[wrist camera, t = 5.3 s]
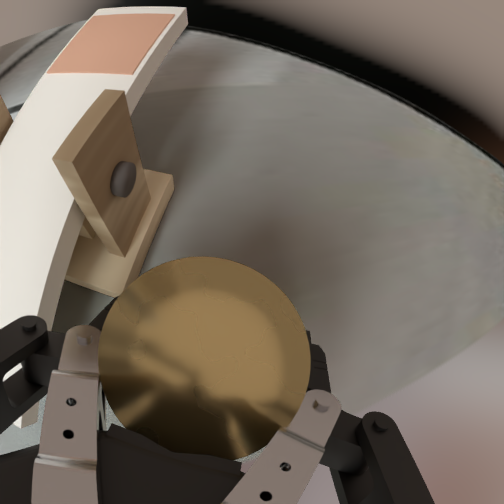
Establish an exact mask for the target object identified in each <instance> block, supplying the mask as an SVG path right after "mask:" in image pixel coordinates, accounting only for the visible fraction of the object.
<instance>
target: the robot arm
mask: <svg viewBox="0 0 504 504" xmlns="http://www.w3.org/2000/svg"><path fill="white" fill-rule="evenodd" d="M119 296H120V295H119ZM119 296H117V297H115V298H114V299H113V300H112V301H111V302H110V304H108V305H107V306H106V307H105V309H103V310H102V311H101V312H100V313H99V315H98V316H97V317H96V318H95V319H94V320H93V321H92V322H91V323H90V324H89V325H77V326H74V327H72V328H70V329H69V330H68V331H67V333H66V334H64V333H58V332H52V331H48V330H47V324H46V322H45V321H44V320H43V319H42V318H40V317H38V316H34V315H27V316H23V317H20V318H18V319H16V320H15V321H13V322H11V323H10V324H8V325H6V326H5V327H3V328H1V329H0V434H1V433H2V432H3V431H5V430H6V429H7V428H8V427H9V426H10V425H11V424H13V423H14V422H15V421H16V420H17V419H18V418H19V417H21V416H22V415H23V414H24V413H25V412H26V411H28V410H29V409H30V408H31V407H32V406H33V405H35V404H36V403H37V402H38V401H39V400H40V399H42V398H43V397H44V396H45V395H46V394H47V398H46V404H45V410H44V416H43V423H42V430H41V437H40V444H38V445H34V446H31V447H28V448H25V449H21V450H18V451H14V452H11V453H7V454H3V455H0V504H297V502H298V500H299V498H300V497H301V495H302V493H303V491H304V490H305V488H306V486H307V484H308V482H309V481H310V479H311V477H312V475H313V473H314V471H315V469H316V467H317V465H318V464H319V463H320V464H323V465H325V466H328V467H330V471H331V475H332V478H333V482H334V486H335V489H336V492H337V496H338V499H339V503H340V504H435V503H434V501H433V499H432V497H431V495H430V492H429V490H428V488H427V486H426V484H425V482H424V480H423V478H422V476H421V474H420V471H419V469H418V467H417V465H416V463H415V461H414V459H413V457H412V455H411V453H410V451H409V449H408V447H407V445H406V443H405V441H404V439H403V437H402V435H401V433H400V431H399V429H398V427H397V425H396V423H395V422H394V420H393V419H392V418H390V417H389V416H388V415H386V414H384V413H381V412H369V413H367V414H365V416H364V417H363V418H359V417H356V416H354V415H351V414H349V413H346V412H345V411H343V410H341V404H340V402H339V400H338V399H337V398H336V397H335V396H334V395H332V394H331V389H330V382H329V376H328V371H327V364H326V357H325V353H324V352H323V350H322V349H321V348H320V346H319V345H315V344H311V337H310V331H307V330H306V334H307V338H308V341H309V348H310V356H311V365H310V377H309V383H308V387H307V390H306V394H305V397H304V399H303V402H302V404H301V406H300V408H299V410H298V412H297V413H296V415H295V417H294V418H293V420H292V421H291V422H290V424H289V425H288V426H287V427H282V428H281V427H280V428H279V430H278V431H277V432H276V434H275V435H274V437H273V438H272V439H271V441H270V442H269V443H268V445H267V446H266V448H265V449H264V450H263V452H262V453H261V454H260V456H259V457H258V458H257V460H256V461H255V462H254V464H253V465H252V466H251V468H250V469H249V470H248V471H247V473H243V472H241V471H240V469H241V464H242V462H237V461H233V460H228V459H224V458H219V457H215V456H211V455H200V454H186V453H175V452H171V451H169V450H167V449H166V448H164V447H162V446H160V445H158V444H157V443H155V442H153V441H152V440H150V439H148V438H147V437H145V436H143V435H141V434H139V433H136V432H133V431H130V430H128V429H125V428H123V427H120V426H118V425H115V424H113V423H112V424H111V426H110V428H109V430H108V431H106V396H105V394H104V391H103V388H102V384H101V374H99V369H98V347H99V339H100V335H101V331H102V328H103V325H104V322H105V320H106V317H107V315H108V313H109V311H110V309H111V308H112V306H113V304H114V302H115V301H116V300H117V298H118V297H119ZM20 363H21V366H22V368H21V369H19V370H18V371H17V372H15V373H14V374H13V375H11V376H10V377H9V378H7V379H6V380H5V381H3V378H4V376H5V374H6V373H7V372H8V371H10V370H11V369H13V368H14V367H15V366H17V365H18V364H20Z"/></svg>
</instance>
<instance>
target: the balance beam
mask: <svg viewBox="0 0 504 504" xmlns="http://www.w3.org/2000/svg"><path fill="white" fill-rule="evenodd" d="M187 25H188V19H187V11H186V8H185V7H120V8H105V9H98V10H97V11H96V12H95V13H94V14H93V15H92V16H91V18H89V20H88V21H87V22H86V23H85V24H84V25H83V26H82V27H81V28H80V30H79V31H78V32H77V33H76V34H75V35H74V36H73V38H72V39H71V40H70V41H69V42H68V44H67V45H66V46H65V47H64V48H63V50H62V51H61V52H60V54H59V55H58V56H57V57H56V59H55V60H54V61H53V63H52V64H51V65H50V67H49V68H48V69H47V71H46V72H45V73H44V75H43V76H42V78H41V79H40V80H39V82H38V83H37V85H36V86H35V88H34V89H33V91H32V92H31V94H30V95H29V97H28V98H27V100H26V102H25V103H24V105H23V106H22V108H21V110H20V111H19V113H18V115H17V116H16V118H15V120H14V121H13V123H12V125H11V127H10V128H9V130H8V132H7V134H6V136H5V137H4V139H3V141H2V143H1V145H0V329H1V328H3V327H5V326H6V325H8V324H10V323H11V322H13V321H15V320H16V319H18V318H20V317H23V316H27V315H34V316H38V317H40V318H42V319H43V320H44V321H45V322H46V324H47V330H48V331H51V330H52V326H53V321H54V317H55V313H56V309H57V305H58V301H59V297H60V293H61V290H62V286H63V283H64V279H65V276H66V272H67V269H68V266H69V263H70V259H71V256H72V253H73V250H74V247H75V244H76V241H77V238H78V235H79V233H80V230H81V227H82V224H83V221H84V219H85V215H84V213H83V212H82V210H81V208H80V207H79V205H78V204H77V202H76V200H75V199H74V197H73V195H72V194H71V192H70V190H69V188H68V187H67V185H66V183H65V182H64V180H63V178H62V176H61V175H60V173H59V171H58V169H57V167H56V166H55V164H54V162H53V160H52V157H53V156H54V154H55V153H56V152H57V150H58V149H59V147H60V146H61V144H62V143H63V142H64V140H65V139H66V137H67V136H68V135H69V133H70V132H71V131H72V129H73V128H74V127H75V125H76V124H77V123H78V121H79V120H80V119H81V117H82V116H83V115H84V114H85V112H86V111H87V110H88V109H89V107H90V106H91V105H92V104H93V103H94V101H95V100H96V99H97V98H98V97H99V95H100V94H101V93H102V92H103V91H104V90H105V89H111V90H124V91H125V95H126V100H127V104H128V109H129V113H130V116H131V115H132V113H133V111H134V109H135V107H136V105H137V104H138V102H139V100H140V98H141V96H142V95H143V93H144V91H145V89H146V88H147V86H148V84H149V83H150V81H151V79H152V78H153V76H154V74H155V73H156V71H157V69H158V68H159V66H160V65H161V63H162V61H163V60H164V58H165V57H166V55H167V54H168V52H169V51H170V49H171V48H172V46H173V45H174V43H175V42H176V40H177V39H178V37H179V36H180V34H181V33H182V32H183V30H184V29H185V27H186V26H187ZM21 368H22V366H21V363H20V364H18V365H17V366H15V367H14V368H13V369H11V370H10V371H8V372H7V373H6V374H5V376H4V378H3V381H5V380H6V379H7V378H9V377H10V376H11V375H13V374H14V373H15V372H17V371H18V370H19V369H21ZM38 409H39V401H38V402H37V403H36V404H35V405H33V406H32V407H31V408H30V409H29V410H28V411H26V412H25V413H24V414H23V415H22V416H21V417H19V418H18V419H17V420H16V421H15V422H14V423H13V424H15V425H16V426H18V427H19V428H24V427H26V426H29V425H31V424H34V423H36V422H37V419H38Z"/></svg>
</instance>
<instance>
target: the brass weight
mask: <svg viewBox="0 0 504 504" xmlns="http://www.w3.org/2000/svg"><path fill="white" fill-rule="evenodd" d="M310 365H311V356H310V348H309V341H308V338H307V334H306V330H305V328H304V325H303V323H302V320H301V318H300V316H299V314H298V312H297V311H296V309H295V307H294V305H293V304H292V303H291V301H290V300H289V299H288V298H287V296H286V295H285V294H284V293H283V292H282V291H281V290H280V289H279V288H278V287H277V286H276V285H275V284H274V283H273V282H272V281H270V280H269V279H268V278H267V277H265V276H264V275H262V274H260V273H259V272H257V271H256V270H254V269H252V268H250V267H247V266H245V265H243V264H240V263H237V262H234V261H231V260H227V259H222V258H217V257H204V256H203V257H188V258H182V259H177V260H173V261H170V262H166V263H164V264H161V265H159V266H157V267H154V268H152V269H151V270H149V271H147V272H146V273H144V274H142V275H141V276H140V277H138V278H137V279H136V280H134V281H133V282H132V283H131V284H130V285H129V286H128V287H127V288H126V289H125V290H124V291H123V292H122V293H121V294H120V296H119V297H118V298H117V300H116V301H115V302H114V304H113V306H112V308H111V309H110V311H109V313H108V315H107V317H106V320H105V322H104V325H103V328H102V331H101V335H100V339H99V347H98V369H99V374H101V384H102V388H103V391H104V394H105V396H106V399H107V401H108V403H109V405H110V407H111V409H112V410H113V412H114V414H115V415H116V417H117V418H118V419H119V421H120V422H121V423H122V424H123V426H124V427H125V428H126V429H128V430H130V431H133V432H136V433H139V434H141V435H143V436H145V437H147V438H148V439H150V440H152V441H153V442H155V443H157V444H158V445H160V446H162V447H164V448H166V449H167V450H169V451H171V452H175V453H186V454H200V455H211V456H215V457H219V458H224V459H228V460H236V459H239V458H242V457H245V456H248V455H250V454H252V453H254V452H256V451H258V450H260V449H262V448H263V447H265V446H266V445H268V443H269V442H270V441H271V439H272V438H273V437H274V435H275V434H276V432H277V431H278V430H279V428H280V427H281V428H282V427H287V426H288V425H289V424H290V422H291V421H292V420H293V418H294V417H295V415H296V413H297V412H298V410H299V408H300V406H301V404H302V402H303V399H304V397H305V394H306V390H307V387H308V383H309V377H310Z"/></svg>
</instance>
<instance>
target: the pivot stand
mask: <svg viewBox="0 0 504 504" xmlns="http://www.w3.org/2000/svg"><path fill="white" fill-rule="evenodd" d="M12 123H13V119H12V117H11V115H10V113H9V111H8V109H7V107H6V105H5V103H4V101H3V99H2V97H1V95H0V145H1V143H2V141H3V139H4V137H5V136H6V134H7V132H8V130H9V128H10V127H11V125H12ZM52 160H53V162H54V164H55V166H56V167H57V169H58V171H59V173H60V175H61V176H62V178H63V180H64V182H65V183H66V185H67V187H68V188H69V190H70V192H71V194H72V195H73V197H74V199H75V200H76V202H77V204H78V205H79V207H80V208H81V210H82V212H83V213H84V215H85V219H84V221H83V224H82V227H81V230H80V233H79V235H78V238H77V241H76V244H75V247H74V250H73V253H72V256H71V259H70V263H69V266H68V269H67V272H66V276H65V279H64V280H67V281H70V282H72V283H75V284H78V285H80V286H83V287H86V288H89V289H91V290H94V291H97V292H100V293H102V294H105V295H108V296H111V297H114V298H115V297H117V296H119V295H120V294H121V293H122V292H123V291H124V290H125V289H126V288H127V287H128V286H129V285H130V284H131V283H132V282H133V281H134V280H136V279H137V278H138V276H139V273H140V271H141V268H142V265H143V263H144V260H145V258H146V255H147V253H148V250H149V248H150V245H151V243H152V240H153V238H154V235H155V233H156V230H157V228H158V226H159V223H160V221H161V219H162V216H163V214H164V212H165V209H166V207H167V205H168V202H169V200H170V198H171V196H172V193H173V191H174V183H173V176H172V175H171V174H166V173H161V172H157V171H152V170H147V169H143V167H142V163H141V159H140V155H139V151H138V147H137V143H136V139H135V135H134V131H133V127H132V122H131V118H130V113H129V109H128V104H127V100H126V95H125V91H124V90H111V89H105V90H104V91H103V92H102V93H101V94H100V95H99V97H98V98H97V99H96V100H95V101H94V103H93V104H92V105H91V106H90V107H89V109H88V110H87V111H86V112H85V114H84V115H83V116H82V117H81V119H80V120H79V121H78V123H77V124H76V125H75V127H74V128H73V129H72V131H71V132H70V133H69V135H68V136H67V137H66V139H65V140H64V142H63V143H62V144H61V146H60V147H59V149H58V150H57V152H56V153H55V154H54V156H53V157H52Z"/></svg>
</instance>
